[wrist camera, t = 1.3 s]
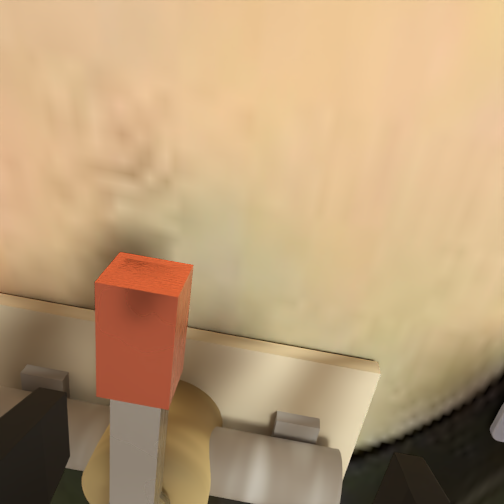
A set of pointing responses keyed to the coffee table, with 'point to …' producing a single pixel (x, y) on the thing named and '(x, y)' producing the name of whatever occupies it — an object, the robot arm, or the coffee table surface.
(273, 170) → the coffee table surface
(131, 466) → the valve lever
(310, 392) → the valve fixture
